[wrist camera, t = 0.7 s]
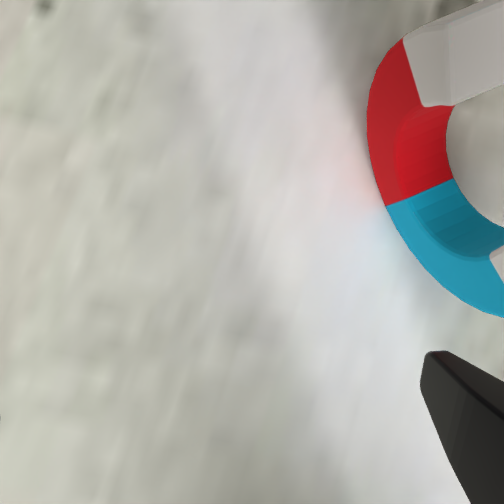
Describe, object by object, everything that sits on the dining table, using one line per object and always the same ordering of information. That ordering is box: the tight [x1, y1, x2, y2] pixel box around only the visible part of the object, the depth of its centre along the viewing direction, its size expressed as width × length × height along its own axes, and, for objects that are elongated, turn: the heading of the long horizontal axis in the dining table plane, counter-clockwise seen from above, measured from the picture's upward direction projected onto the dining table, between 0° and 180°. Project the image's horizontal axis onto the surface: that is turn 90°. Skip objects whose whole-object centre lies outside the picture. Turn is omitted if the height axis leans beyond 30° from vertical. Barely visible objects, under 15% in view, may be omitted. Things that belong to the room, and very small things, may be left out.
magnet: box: [367, 0, 504, 318], centre depth 18 cm, size 12×3×10 cm, turn 24°
